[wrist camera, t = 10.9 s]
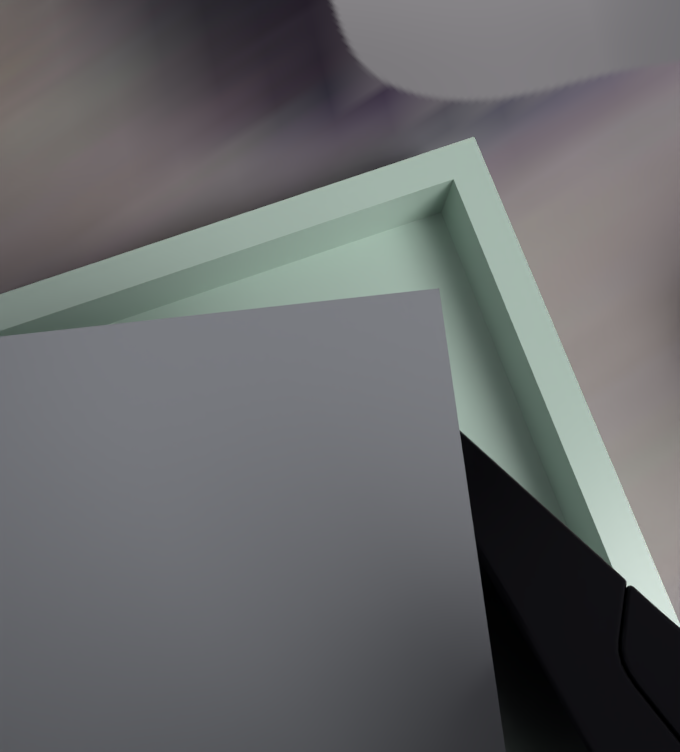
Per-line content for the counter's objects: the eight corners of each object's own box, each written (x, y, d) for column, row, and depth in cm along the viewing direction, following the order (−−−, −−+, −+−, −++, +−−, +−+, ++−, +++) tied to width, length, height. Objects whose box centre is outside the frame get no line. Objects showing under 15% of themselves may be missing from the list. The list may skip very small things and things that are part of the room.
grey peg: (378, 405, 14) (439, 288, 5) (401, 596, 14) (534, 949, 4) (197, 425, 14) (-131, 350, 5) (209, 617, 14) (-154, 1026, 4)
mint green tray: (455, 183, 17) (473, 136, 15) (658, 678, 15) (721, 723, 12) (-14, 341, 17) (-80, 320, 14) (118, 880, 14) (69, 971, 12)
